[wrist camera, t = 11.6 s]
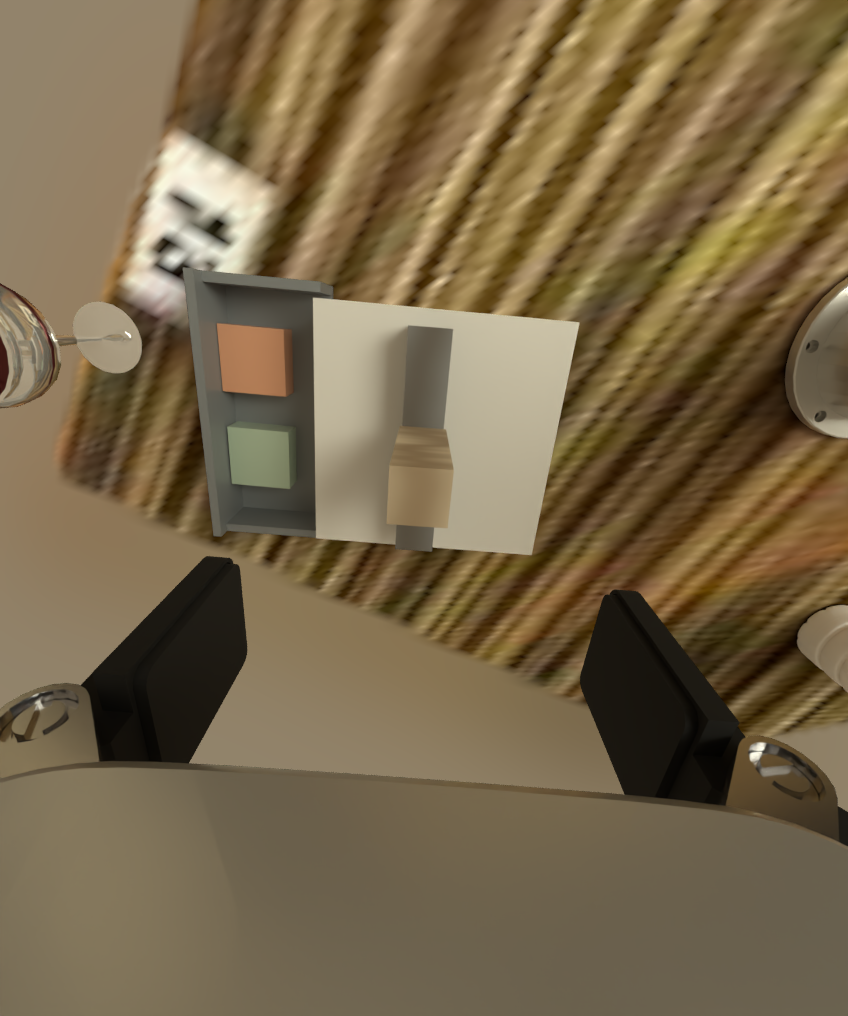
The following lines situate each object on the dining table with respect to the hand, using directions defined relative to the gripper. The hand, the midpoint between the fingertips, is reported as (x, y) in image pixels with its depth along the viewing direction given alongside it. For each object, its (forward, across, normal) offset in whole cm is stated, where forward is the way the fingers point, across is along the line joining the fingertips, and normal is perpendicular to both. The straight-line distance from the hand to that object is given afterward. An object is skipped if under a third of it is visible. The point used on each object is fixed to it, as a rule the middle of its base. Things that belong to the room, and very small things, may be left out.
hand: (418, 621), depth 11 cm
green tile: (+23, +12, +4) cm, 26 cm away
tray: (+25, +12, 0) cm, 28 cm away
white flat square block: (+25, 0, 0) cm, 25 cm away
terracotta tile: (+23, +13, -4) cm, 26 cm away
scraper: (+19, 0, 0) cm, 19 cm away
